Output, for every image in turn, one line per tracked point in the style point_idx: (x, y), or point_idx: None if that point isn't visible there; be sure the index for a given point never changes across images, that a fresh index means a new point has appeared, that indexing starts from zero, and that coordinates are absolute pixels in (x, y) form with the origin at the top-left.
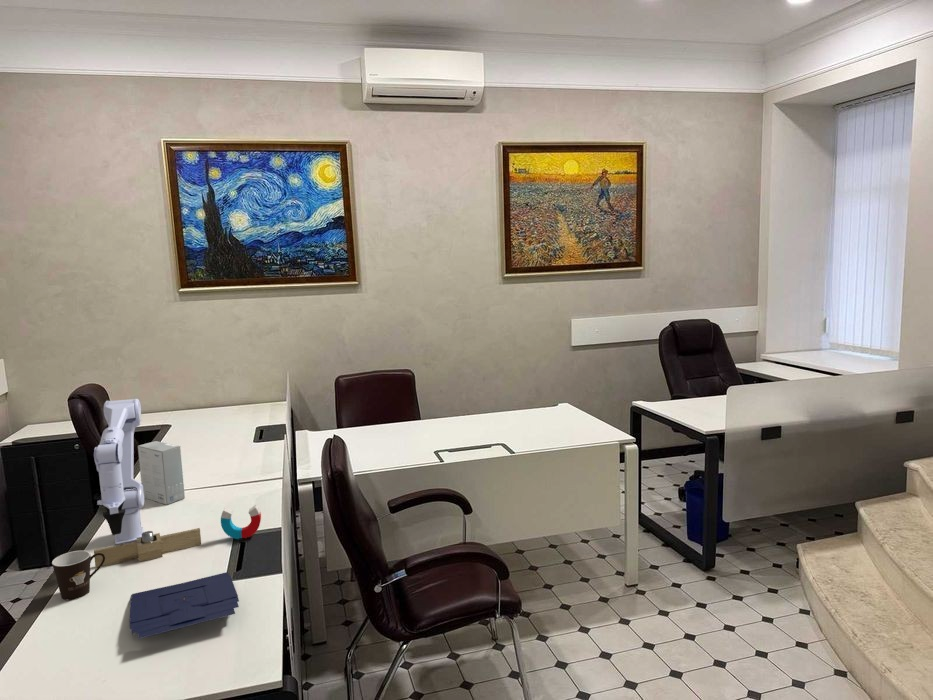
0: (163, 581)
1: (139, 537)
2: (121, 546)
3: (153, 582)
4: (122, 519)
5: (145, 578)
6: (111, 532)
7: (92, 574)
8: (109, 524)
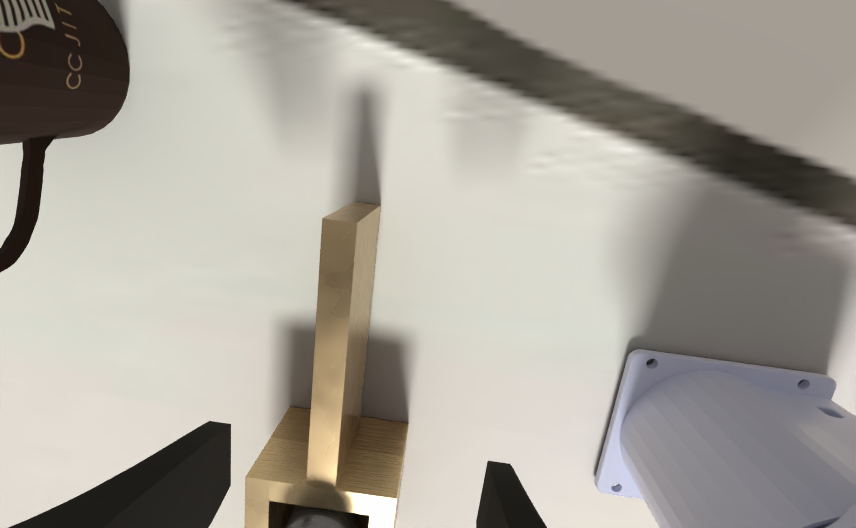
0: (5, 449)
1: (388, 513)
2: (312, 395)
3: (14, 413)
4: (723, 525)
5: (76, 394)
6: (191, 432)
7: (26, 164)
8: (65, 508)
